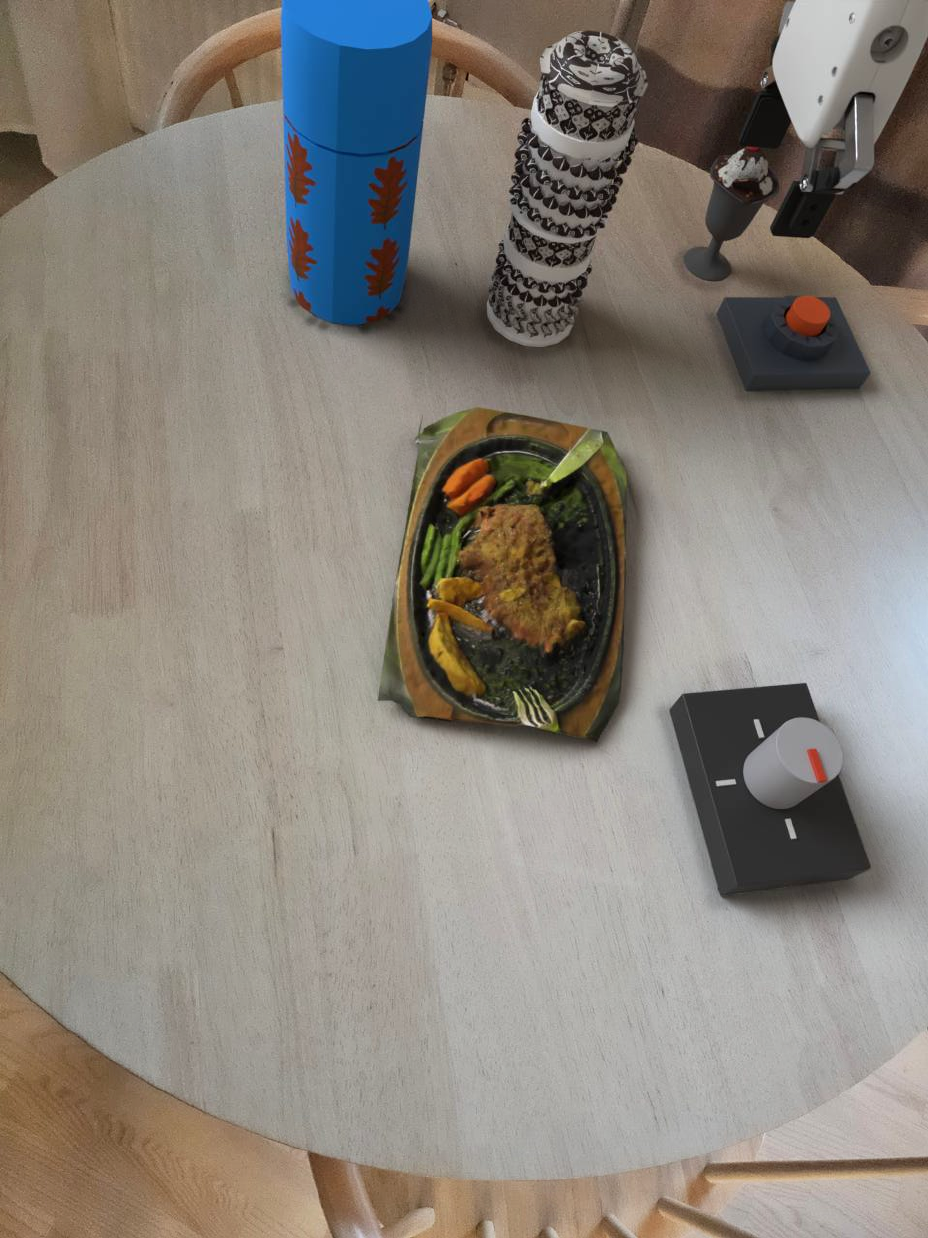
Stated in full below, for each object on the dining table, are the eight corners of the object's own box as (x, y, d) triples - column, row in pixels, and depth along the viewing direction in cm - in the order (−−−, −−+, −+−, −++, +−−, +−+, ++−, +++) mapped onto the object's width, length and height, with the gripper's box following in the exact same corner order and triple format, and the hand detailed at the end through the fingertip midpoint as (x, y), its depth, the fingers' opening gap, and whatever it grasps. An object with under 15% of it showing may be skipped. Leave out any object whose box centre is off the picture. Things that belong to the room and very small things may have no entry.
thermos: (332, 342, 84) (339, 66, 63) (264, 269, 88) (249, -18, 66) (427, 298, 89) (465, 25, 67) (359, 229, 92) (374, -52, 70)
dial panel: (668, 709, 72) (683, 692, 69) (789, 698, 74) (807, 681, 71) (719, 896, 65) (737, 886, 62) (850, 879, 67) (873, 868, 64)
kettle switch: (814, 309, 90) (823, 295, 89) (827, 337, 89) (836, 323, 87) (780, 309, 90) (788, 295, 88) (792, 337, 88) (800, 323, 87)
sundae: (704, 233, 99) (763, 96, 86) (750, 272, 97) (818, 138, 84) (661, 255, 97) (716, 117, 84) (708, 296, 95) (771, 161, 82)
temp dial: (735, 750, 67) (769, 718, 62) (793, 744, 68) (832, 712, 63) (753, 812, 65) (791, 785, 60) (814, 805, 66) (856, 778, 61)
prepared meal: (634, 729, 66) (379, 691, 64) (619, 749, 69) (375, 713, 67) (630, 431, 81) (422, 393, 79) (618, 458, 84) (417, 422, 82)
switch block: (825, 313, 96) (845, 282, 92) (859, 389, 91) (881, 359, 88) (715, 314, 94) (731, 282, 90) (745, 391, 89) (762, 360, 85)
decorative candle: (573, 359, 88) (659, 102, 66) (475, 337, 87) (530, 71, 66) (582, 292, 92) (666, 31, 71) (489, 271, 92) (545, 2, 70)
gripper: (1013, 20, 51) (853, 275, 65) (913, -141, 59) (791, 117, 74) (885, 7, 49) (752, 269, 64) (801, -157, 58) (700, 109, 72)
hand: (773, 188), depth 69 cm, fingers open, 9 cm apart
